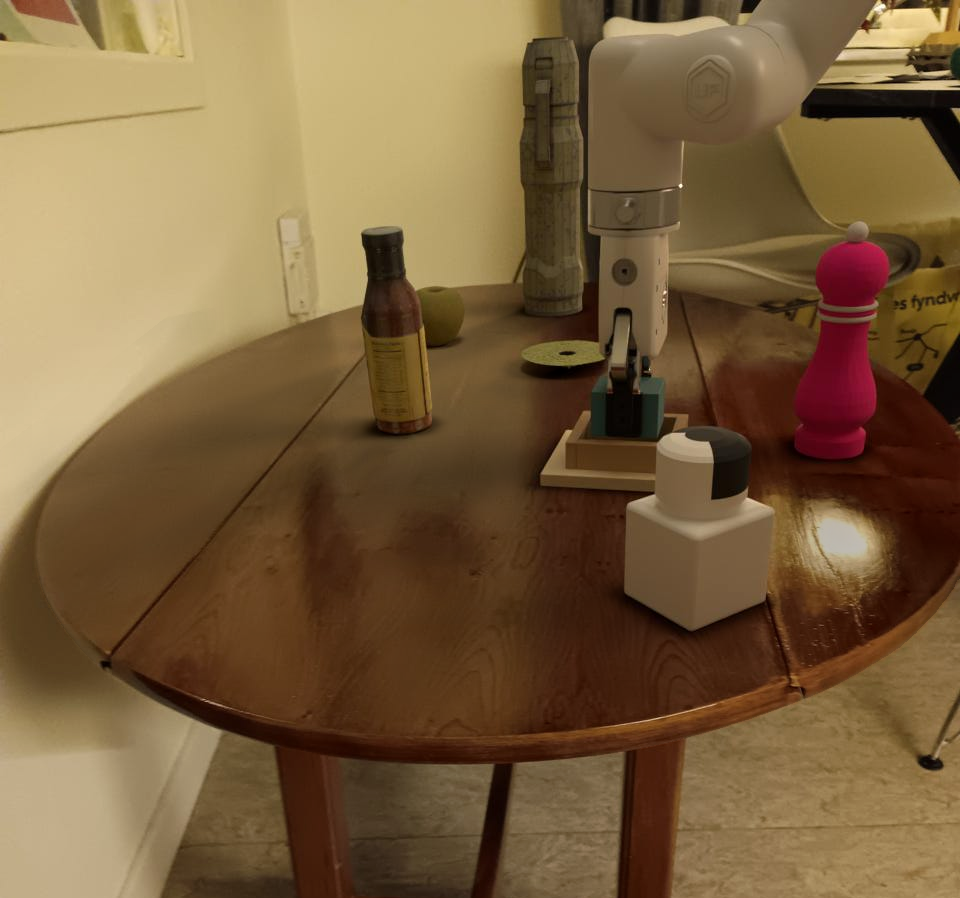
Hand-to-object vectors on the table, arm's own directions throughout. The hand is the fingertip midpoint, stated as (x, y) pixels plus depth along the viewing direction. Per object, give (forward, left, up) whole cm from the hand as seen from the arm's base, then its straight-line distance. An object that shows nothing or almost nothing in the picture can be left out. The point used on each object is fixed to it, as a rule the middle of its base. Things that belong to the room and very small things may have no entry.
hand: (628, 423), depth 90 cm
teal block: (0, 0, 0) cm, 0 cm away
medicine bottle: (-8, +25, -4) cm, 27 cm away
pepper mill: (-18, -7, -4) cm, 20 cm away
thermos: (+20, -62, -4) cm, 65 cm away
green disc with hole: (+12, -32, -4) cm, 34 cm away
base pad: (0, 0, -4) cm, 4 cm away
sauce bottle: (+25, -8, -4) cm, 27 cm away
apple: (+32, -42, -4) cm, 53 cm away
